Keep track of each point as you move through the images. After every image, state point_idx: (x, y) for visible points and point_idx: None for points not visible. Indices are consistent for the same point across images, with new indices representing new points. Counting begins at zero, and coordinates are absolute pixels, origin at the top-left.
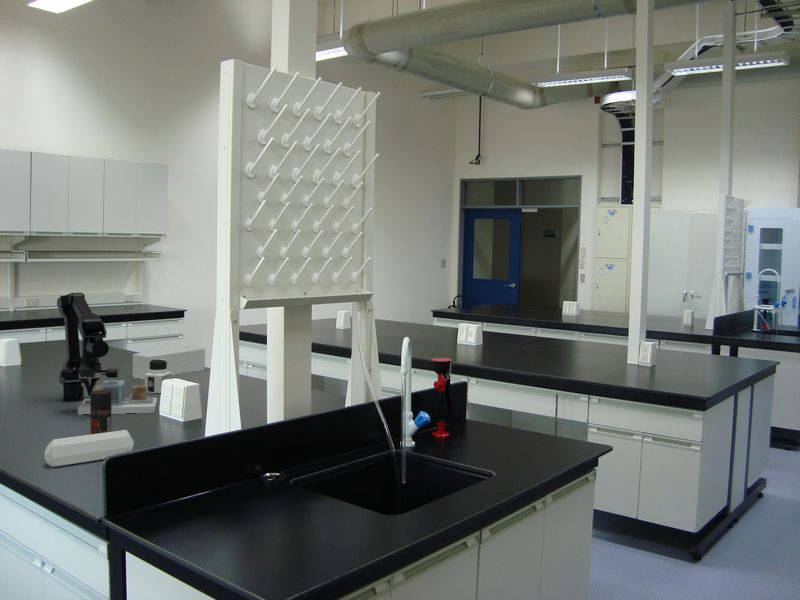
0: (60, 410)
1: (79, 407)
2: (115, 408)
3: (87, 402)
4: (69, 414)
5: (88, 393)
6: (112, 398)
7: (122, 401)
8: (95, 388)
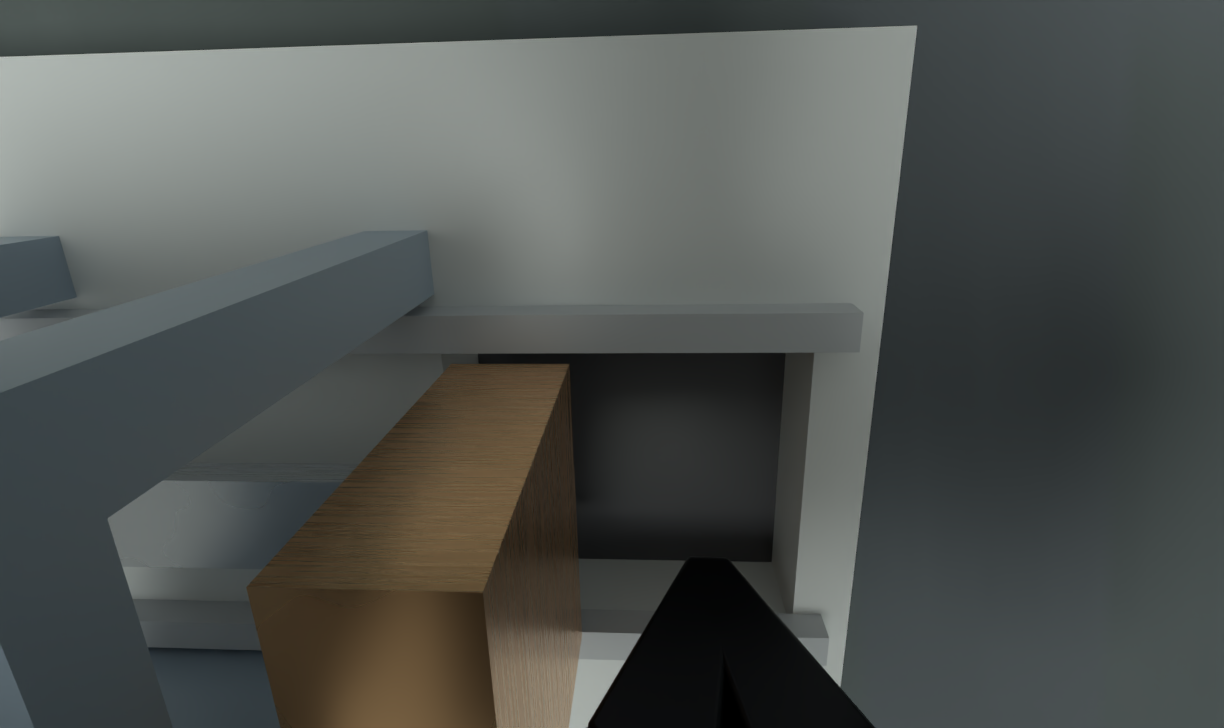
0: (1179, 469)
1: (885, 126)
2: (78, 55)
3: None
4: (1028, 140)
5: (750, 596)
6: None
7: (135, 576)
8: (451, 583)
